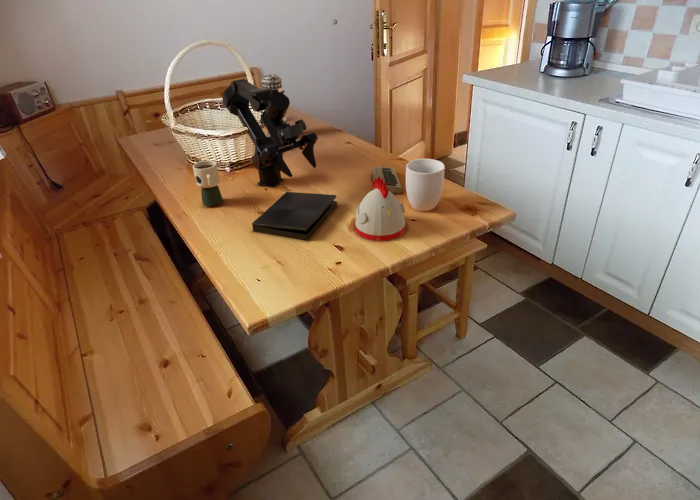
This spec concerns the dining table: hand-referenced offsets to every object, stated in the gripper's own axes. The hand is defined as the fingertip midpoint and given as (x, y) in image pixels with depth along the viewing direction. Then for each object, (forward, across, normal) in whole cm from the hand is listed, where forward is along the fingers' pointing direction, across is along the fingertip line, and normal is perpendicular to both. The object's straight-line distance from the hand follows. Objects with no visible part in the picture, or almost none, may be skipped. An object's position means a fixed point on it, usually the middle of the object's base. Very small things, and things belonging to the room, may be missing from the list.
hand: (303, 171), depth 141 cm
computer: (+14, +27, +1) cm, 30 cm away
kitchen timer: (+27, +4, -12) cm, 29 cm away
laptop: (+11, -8, +4) cm, 14 cm away
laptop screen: (+9, -8, +2) cm, 13 cm away
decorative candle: (-32, +31, +47) cm, 65 cm away
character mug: (-8, -20, +24) cm, 32 cm away
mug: (+27, +23, -12) cm, 37 cm away
